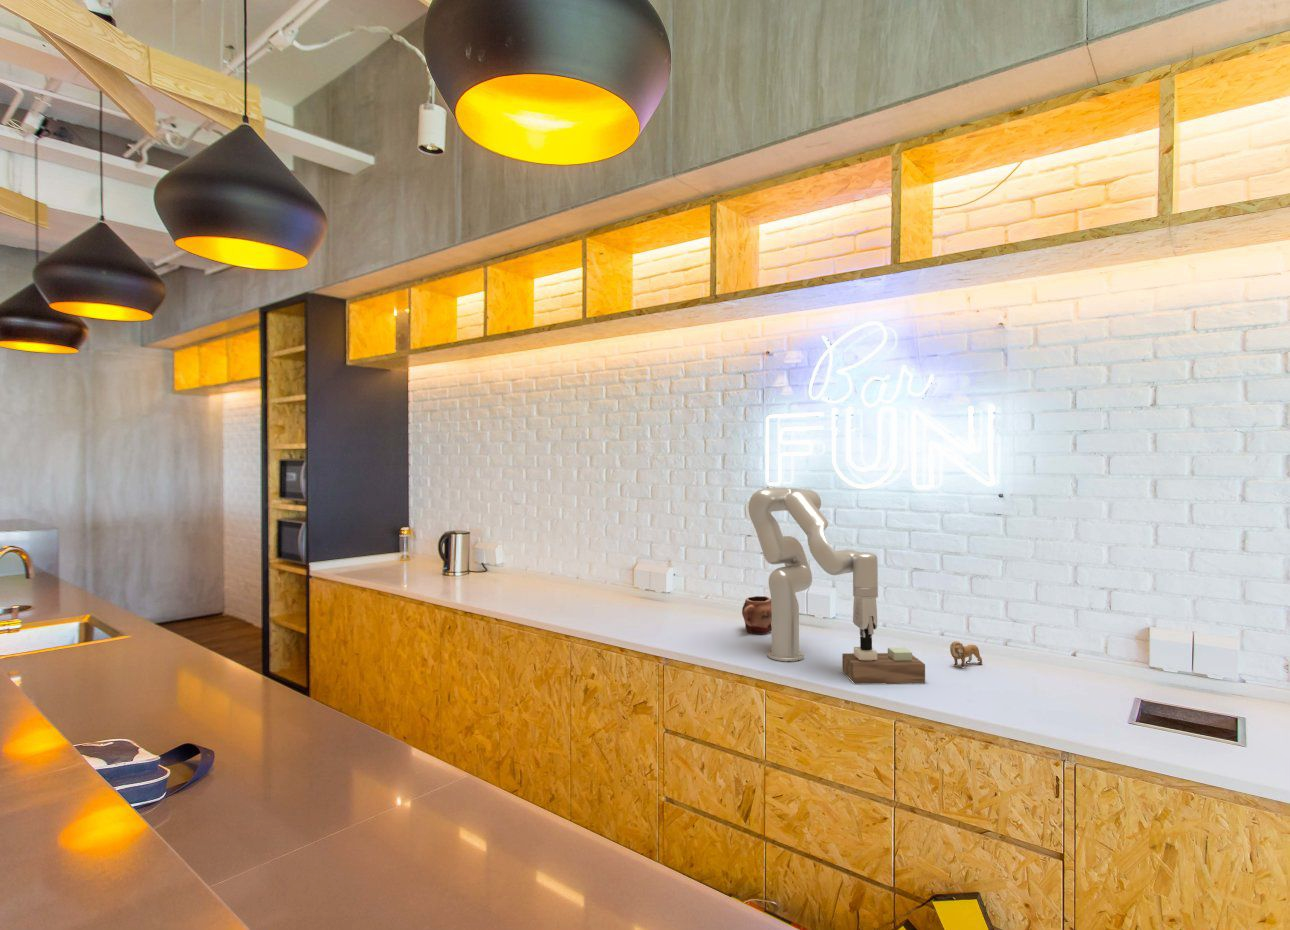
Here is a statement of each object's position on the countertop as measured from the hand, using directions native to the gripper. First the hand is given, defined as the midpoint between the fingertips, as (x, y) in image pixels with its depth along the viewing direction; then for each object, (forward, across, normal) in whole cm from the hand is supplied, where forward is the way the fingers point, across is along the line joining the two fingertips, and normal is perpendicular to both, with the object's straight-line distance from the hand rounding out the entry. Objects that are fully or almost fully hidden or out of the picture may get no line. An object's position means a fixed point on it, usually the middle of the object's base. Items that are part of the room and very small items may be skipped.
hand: (866, 649), depth 211 cm
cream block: (+7, 0, 0) cm, 7 cm away
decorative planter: (+9, -56, -25) cm, 62 cm away
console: (+9, 0, +5) cm, 10 cm away
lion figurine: (+10, -11, +38) cm, 40 cm away
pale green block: (+7, 0, +11) cm, 13 cm away
